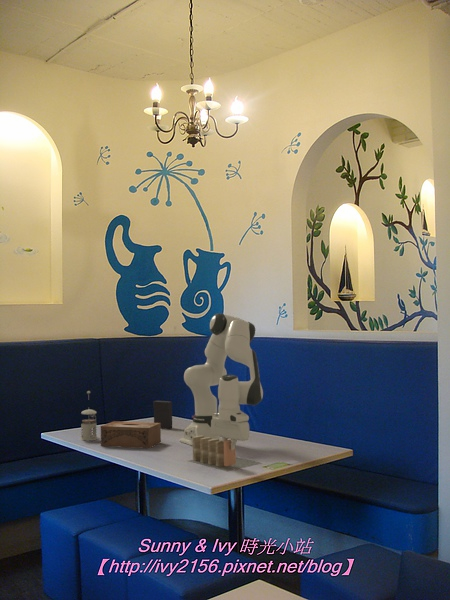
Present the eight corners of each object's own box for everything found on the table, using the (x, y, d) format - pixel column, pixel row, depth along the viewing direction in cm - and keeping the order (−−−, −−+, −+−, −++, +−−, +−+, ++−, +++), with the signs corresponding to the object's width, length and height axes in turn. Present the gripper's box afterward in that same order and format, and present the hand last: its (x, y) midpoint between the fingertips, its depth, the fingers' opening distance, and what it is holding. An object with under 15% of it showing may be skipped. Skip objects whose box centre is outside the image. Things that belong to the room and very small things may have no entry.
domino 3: (208, 464, 267) (207, 440, 267) (217, 462, 270) (216, 438, 271) (210, 464, 266) (210, 440, 266) (219, 462, 269) (219, 439, 269)
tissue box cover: (100, 446, 313) (100, 426, 313) (114, 440, 327) (114, 421, 327) (149, 448, 306) (148, 428, 306) (160, 443, 319) (160, 423, 320)
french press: (76, 440, 328) (75, 391, 329) (86, 436, 339) (85, 389, 340) (93, 441, 326) (93, 392, 326) (103, 436, 337) (102, 389, 337)
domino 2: (200, 462, 271) (200, 438, 271) (209, 460, 274) (209, 437, 274) (202, 462, 270) (202, 439, 270) (211, 460, 273) (211, 437, 273)
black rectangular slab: (173, 428, 361) (172, 401, 361) (168, 429, 357) (168, 402, 357) (157, 426, 366) (157, 400, 367) (153, 427, 363) (152, 401, 363)
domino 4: (215, 466, 263) (215, 441, 264) (224, 464, 267) (224, 440, 267) (218, 466, 262) (218, 442, 262) (227, 464, 265) (227, 440, 266)
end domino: (224, 465, 260) (223, 441, 260) (233, 463, 263) (232, 439, 263) (226, 466, 258) (226, 441, 259) (235, 464, 262) (235, 439, 262)
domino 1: (193, 460, 274) (192, 437, 275) (201, 458, 278) (201, 435, 278) (195, 460, 273) (195, 437, 273) (204, 459, 277) (204, 435, 277)
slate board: (186, 463, 274) (186, 460, 274) (221, 455, 287) (221, 453, 287) (227, 473, 254) (227, 471, 254) (262, 465, 268) (262, 463, 268)
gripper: (206, 413, 267) (207, 446, 266) (240, 418, 252) (240, 453, 251) (218, 411, 271) (218, 444, 271) (251, 416, 256) (252, 451, 256)
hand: (229, 448), depth 261 cm, fingers closed on end domino, 2 cm apart
